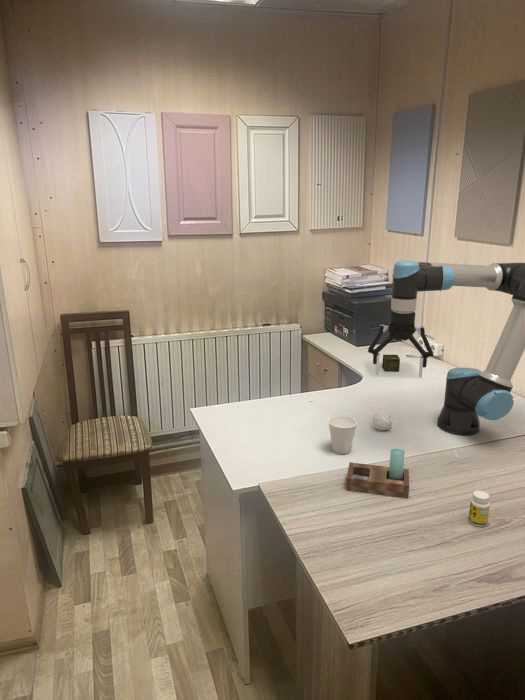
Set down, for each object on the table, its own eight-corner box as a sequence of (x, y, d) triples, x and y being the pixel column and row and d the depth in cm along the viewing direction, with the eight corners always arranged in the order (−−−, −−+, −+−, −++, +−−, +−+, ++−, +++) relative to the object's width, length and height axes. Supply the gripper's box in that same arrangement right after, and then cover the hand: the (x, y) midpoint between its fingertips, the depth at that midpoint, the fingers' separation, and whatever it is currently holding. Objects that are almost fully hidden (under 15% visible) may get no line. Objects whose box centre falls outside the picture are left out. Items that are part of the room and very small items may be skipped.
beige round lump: (392, 434, 191) (394, 415, 188) (371, 432, 192) (372, 413, 190) (391, 425, 198) (393, 406, 196) (371, 423, 200) (372, 405, 197)
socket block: (407, 480, 159) (408, 468, 158) (408, 498, 150) (409, 485, 149) (349, 473, 164) (349, 461, 163) (345, 490, 154) (346, 477, 153)
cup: (358, 446, 182) (359, 417, 178) (353, 459, 173) (354, 429, 169) (330, 442, 185) (331, 413, 182) (324, 454, 176) (325, 425, 173)
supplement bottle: (465, 516, 142) (468, 489, 139) (481, 516, 142) (485, 489, 140) (473, 527, 137) (477, 499, 135) (490, 526, 137) (494, 499, 135)
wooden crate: (399, 372, 259) (400, 359, 257) (384, 372, 259) (385, 358, 257) (396, 368, 266) (397, 354, 264) (382, 367, 266) (383, 354, 264)
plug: (401, 485, 157) (404, 449, 154) (401, 492, 153) (404, 455, 150) (388, 483, 158) (390, 447, 155) (387, 490, 154) (390, 454, 151)
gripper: (443, 310, 163) (437, 373, 169) (363, 306, 168) (360, 368, 174) (446, 315, 156) (439, 381, 162) (361, 311, 161) (358, 375, 167)
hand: (398, 374), depth 168 cm, fingers open, 13 cm apart
